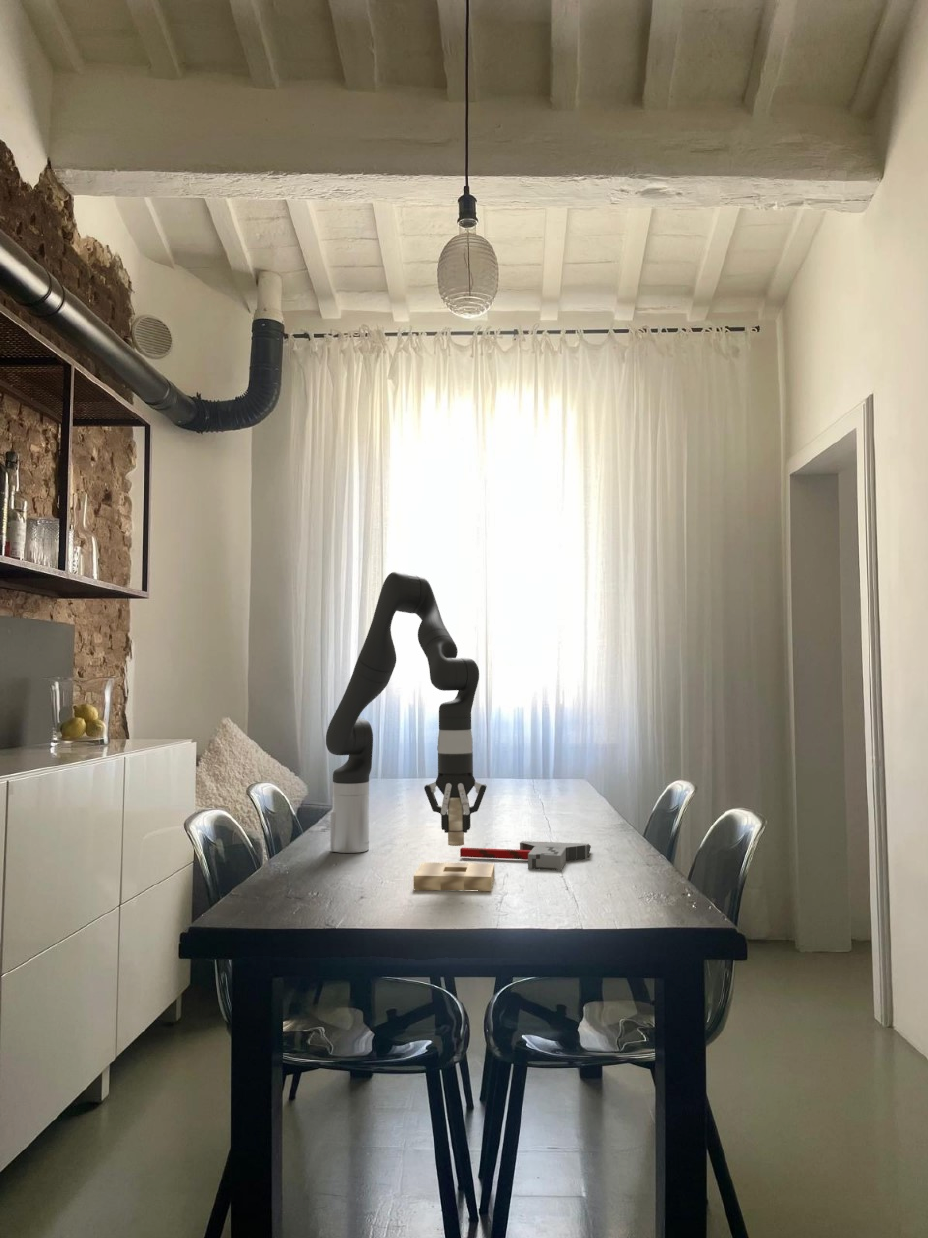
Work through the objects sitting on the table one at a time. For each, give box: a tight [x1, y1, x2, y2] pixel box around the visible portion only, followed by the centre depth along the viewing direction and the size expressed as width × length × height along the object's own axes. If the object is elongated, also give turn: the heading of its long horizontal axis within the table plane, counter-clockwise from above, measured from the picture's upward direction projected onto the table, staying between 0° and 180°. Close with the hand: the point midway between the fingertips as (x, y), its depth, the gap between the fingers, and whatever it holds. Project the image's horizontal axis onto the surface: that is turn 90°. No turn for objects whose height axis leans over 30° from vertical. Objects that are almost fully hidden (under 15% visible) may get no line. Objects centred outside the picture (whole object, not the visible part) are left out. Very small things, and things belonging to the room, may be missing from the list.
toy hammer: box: [459, 840, 592, 871], centre depth 232 cm, size 24×4×30 cm
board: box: [413, 861, 496, 892], centre depth 204 cm, size 16×14×3 cm
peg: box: [447, 798, 465, 847], centre depth 205 cm, size 4×4×10 cm
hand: (455, 831), depth 205 cm, fingers closed on peg, 3 cm apart
